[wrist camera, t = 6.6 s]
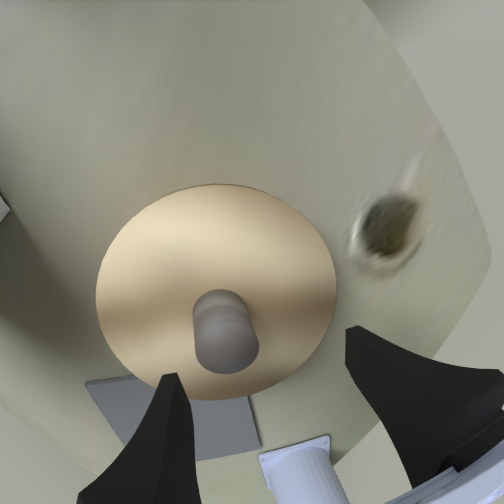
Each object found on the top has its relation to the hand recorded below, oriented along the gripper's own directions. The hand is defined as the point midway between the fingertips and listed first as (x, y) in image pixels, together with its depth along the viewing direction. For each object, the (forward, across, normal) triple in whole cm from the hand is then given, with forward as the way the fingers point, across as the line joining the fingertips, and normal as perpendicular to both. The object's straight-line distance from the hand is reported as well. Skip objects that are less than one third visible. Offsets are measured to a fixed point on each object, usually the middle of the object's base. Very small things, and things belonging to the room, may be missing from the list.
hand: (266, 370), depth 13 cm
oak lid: (+5, +1, 0) cm, 6 cm away
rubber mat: (+10, +8, +13) cm, 18 cm away
